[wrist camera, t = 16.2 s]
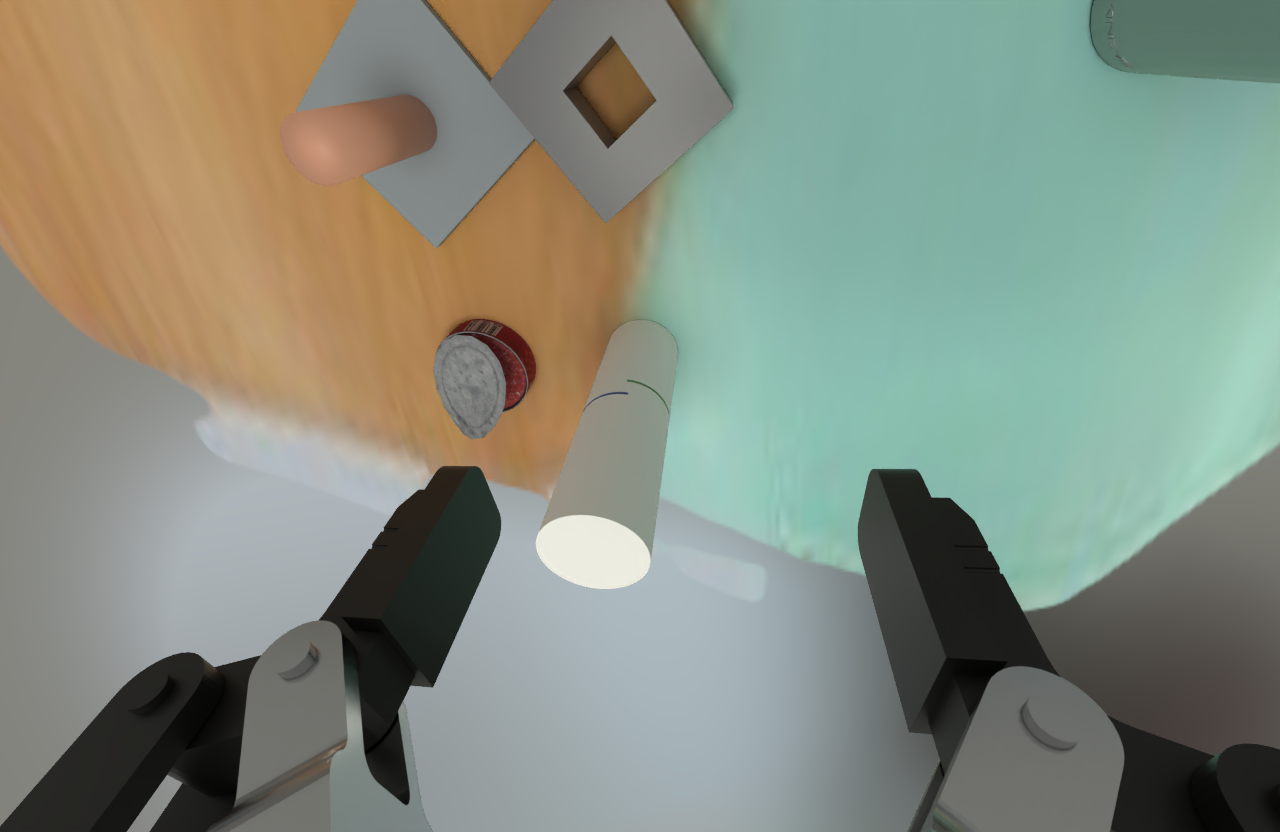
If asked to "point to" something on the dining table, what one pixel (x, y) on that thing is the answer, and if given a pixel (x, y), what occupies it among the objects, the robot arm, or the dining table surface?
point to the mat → (448, 85)
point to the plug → (356, 137)
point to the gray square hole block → (570, 128)
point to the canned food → (482, 374)
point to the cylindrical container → (614, 465)
